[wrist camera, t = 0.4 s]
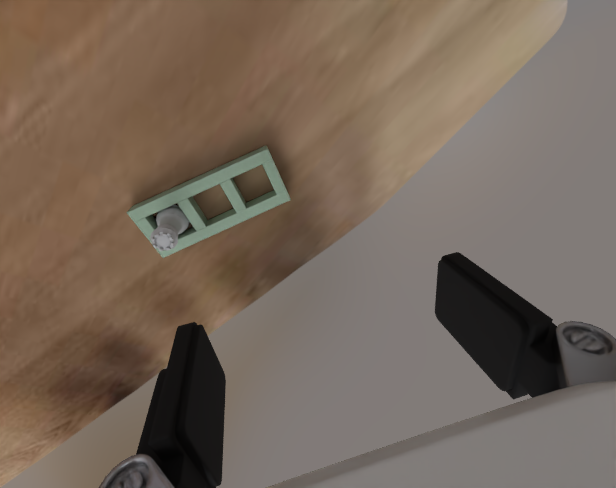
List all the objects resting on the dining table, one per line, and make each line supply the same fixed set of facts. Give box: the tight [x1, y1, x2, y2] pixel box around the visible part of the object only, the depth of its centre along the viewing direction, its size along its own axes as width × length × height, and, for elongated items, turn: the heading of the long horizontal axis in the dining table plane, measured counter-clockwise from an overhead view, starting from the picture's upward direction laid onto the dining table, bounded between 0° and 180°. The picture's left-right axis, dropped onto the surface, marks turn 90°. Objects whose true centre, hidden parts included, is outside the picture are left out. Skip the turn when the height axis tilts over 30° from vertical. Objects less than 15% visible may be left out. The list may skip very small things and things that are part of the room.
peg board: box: [127, 146, 291, 258], centre depth 42 cm, size 8×21×2 cm, turn 111°
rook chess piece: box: [150, 205, 190, 251], centre depth 40 cm, size 4×4×8 cm
